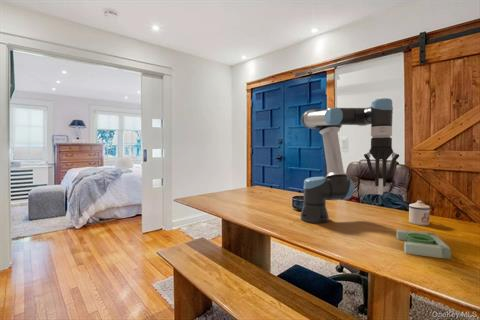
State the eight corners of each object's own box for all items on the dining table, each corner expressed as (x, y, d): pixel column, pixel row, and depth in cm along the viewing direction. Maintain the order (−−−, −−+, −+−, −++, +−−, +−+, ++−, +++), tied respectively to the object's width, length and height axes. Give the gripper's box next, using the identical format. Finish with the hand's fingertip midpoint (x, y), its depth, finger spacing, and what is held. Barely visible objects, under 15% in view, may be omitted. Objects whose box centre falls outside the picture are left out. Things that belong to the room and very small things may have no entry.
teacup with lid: (425, 226, 124) (425, 203, 123) (405, 222, 131) (405, 200, 131) (435, 222, 130) (436, 200, 130) (415, 218, 138) (416, 197, 137)
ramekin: (434, 254, 93) (435, 242, 93) (405, 248, 98) (406, 237, 98) (434, 246, 100) (434, 235, 100) (407, 241, 105) (407, 231, 105)
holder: (405, 253, 93) (405, 244, 93) (396, 237, 110) (396, 229, 110) (450, 259, 88) (451, 249, 88) (433, 241, 105) (434, 233, 105)
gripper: (364, 137, 102) (363, 194, 103) (401, 136, 97) (400, 196, 98) (363, 137, 109) (362, 191, 110) (397, 137, 104) (396, 193, 105)
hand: (380, 194), depth 104 cm, fingers closed
